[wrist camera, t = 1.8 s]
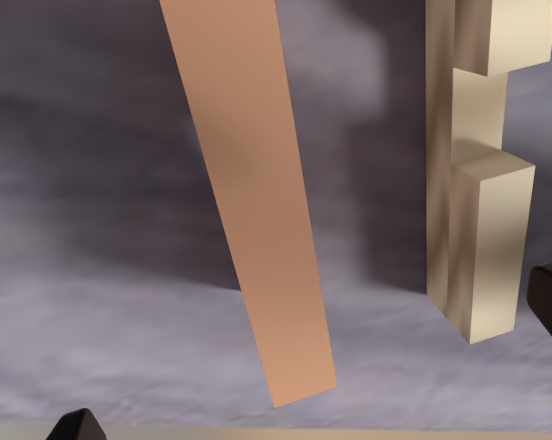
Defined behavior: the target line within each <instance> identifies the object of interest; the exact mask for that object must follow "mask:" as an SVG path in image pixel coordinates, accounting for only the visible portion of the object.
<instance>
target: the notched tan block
mask: <svg viewBox="0 0 552 440" xmlns="http://www.w3.org/2000/svg"><path fill="white" fill-rule="evenodd" d="M159 1H160V5H161V8H162V12H163V15H164V19H165V22H166V26H167V30H168V33H169V37H170V40H171V44H172V47H173V51H174V54H175V58H176V61H177V65H178V68H179V72H180V75H181V79H182V82H183V86H184V90H185V93H186V97H187V100H188V104H189V107H190V111H191V114H192V118H193V121H194V125H195V128H196V132H197V135H198V139H199V143H200V146H201V150H202V153H203V157H204V160H205V164H206V167H207V171H208V174H209V178H210V181H211V185H212V188H213V192H214V196H215V199H216V203H217V206H218V210H219V213H220V217H221V220H222V224H223V227H224V231H225V234H226V238H227V241H228V245H229V249H230V252H231V256H232V259H233V263H234V266H235V270H236V273H237V277H238V280H239V284H240V287H241V291H242V294H243V298H244V302H245V305H246V309H247V312H248V316H249V319H250V323H251V326H252V330H253V333H254V337H255V340H256V344H257V347H258V351H259V355H260V358H261V362H262V365H263V369H264V372H265V376H266V379H267V383H268V386H269V390H270V393H271V397H272V400H273V404H274V408H276V407H279V406H282V405H285V404H288V403H291V402H294V401H297V400H300V399H303V398H306V397H309V396H312V395H315V394H318V393H321V392H324V391H327V390H330V389H333V388H336V387H337V382H336V376H335V370H334V364H333V358H332V352H331V346H330V339H329V333H328V327H327V321H326V315H325V309H324V302H323V296H322V290H321V284H320V278H319V272H318V265H317V259H316V253H315V247H314V241H313V235H312V229H311V222H310V216H309V210H308V204H307V198H306V192H305V185H304V179H303V173H302V167H301V161H300V155H299V148H298V142H297V136H296V130H295V124H294V118H293V111H292V105H291V99H290V93H289V87H288V81H287V75H286V68H285V62H284V56H283V50H282V44H281V38H280V31H279V25H278V19H277V13H276V7H275V1H274V0H159Z"/></svg>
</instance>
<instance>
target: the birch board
mask: <svg viewBox="0 0 552 440" xmlns="http://www.w3.org/2000/svg"><path fill="white" fill-rule="evenodd" d="M425 3H426V244H427V296H428V297H429V298H430V300H431V301H432V302H433V303H434V304H435V305H436V306H437V308H438V309H439V310H440V311H441V312H442V313H443V314H444V316H445V317H446V318H447V319H448V320H449V321H450V322H451V324H452V325H453V326H454V327H455V328H456V329H457V330H458V332H459V333H460V334H461V335H462V336H463V337H464V338H465V340H466V341H467V342H468V343H469V344H473V343H476V342H479V341H482V340H485V339H488V338H491V337H494V336H497V335H500V334H503V333H506V332H509V331H512V330H513V329H514V321H515V314H516V307H517V299H518V292H519V284H520V277H521V269H522V262H523V254H524V247H525V240H526V232H527V225H528V217H529V210H530V202H531V195H532V187H533V180H534V172H535V165H533V164H531V163H529V162H527V161H525V160H522V159H520V158H518V157H516V156H514V155H512V154H510V153H507V152H505V151H503V150H501V145H502V134H503V122H504V111H505V100H506V89H507V77H508V71H512V70H516V69H520V68H524V67H528V66H532V65H536V64H540V63H544V62H548V61H550V53H551V46H552V0H425Z"/></svg>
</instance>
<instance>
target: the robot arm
mask: <svg viewBox="0 0 552 440" xmlns="http://www.w3.org/2000/svg"><path fill="white" fill-rule="evenodd" d="M526 298H527V302H528V305H529V307H530V309H531V310H532V311H533V313H534V314H535V315H536V317H537V318H538V319H539V320H540V322H541V323H542V324H543V326H544V327H545V328H546V330H547V331H548V332H549V333H550V335H551V336H552V261H551V262H546V263H543V264H540V265H537V266H534V267H533V268H532V269H531V271H530V275H529V282H528V289H527V296H526ZM46 440H107V438H106V435H105V433H104V432H103V430H102V428H101V427H100V425H99V423H98V422H97V420H96V419H95V417H94V415H93V414H92V412H91V411H90V410H89V409H87V408H82V409H79V410H76V411H73V412H69V413H67V414H65V415H63V416H62V417H61V418H60V420H59V421H58V423H57V424H56V425H55V427H54V428H53V430H52V431H51V433H50V434H49V436H48V437H47V438H46Z"/></svg>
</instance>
